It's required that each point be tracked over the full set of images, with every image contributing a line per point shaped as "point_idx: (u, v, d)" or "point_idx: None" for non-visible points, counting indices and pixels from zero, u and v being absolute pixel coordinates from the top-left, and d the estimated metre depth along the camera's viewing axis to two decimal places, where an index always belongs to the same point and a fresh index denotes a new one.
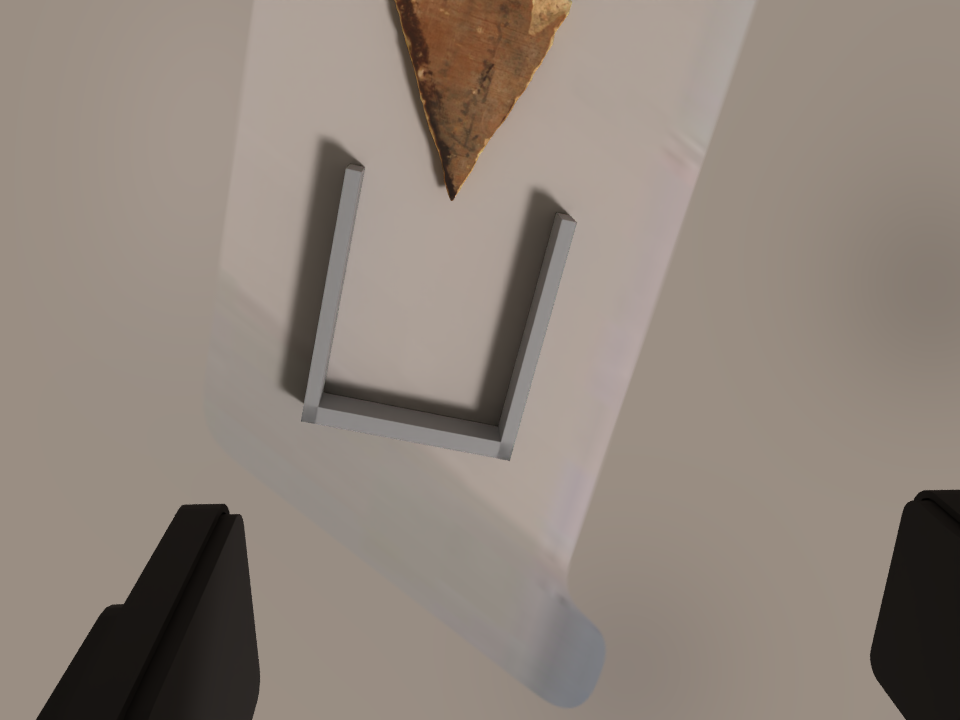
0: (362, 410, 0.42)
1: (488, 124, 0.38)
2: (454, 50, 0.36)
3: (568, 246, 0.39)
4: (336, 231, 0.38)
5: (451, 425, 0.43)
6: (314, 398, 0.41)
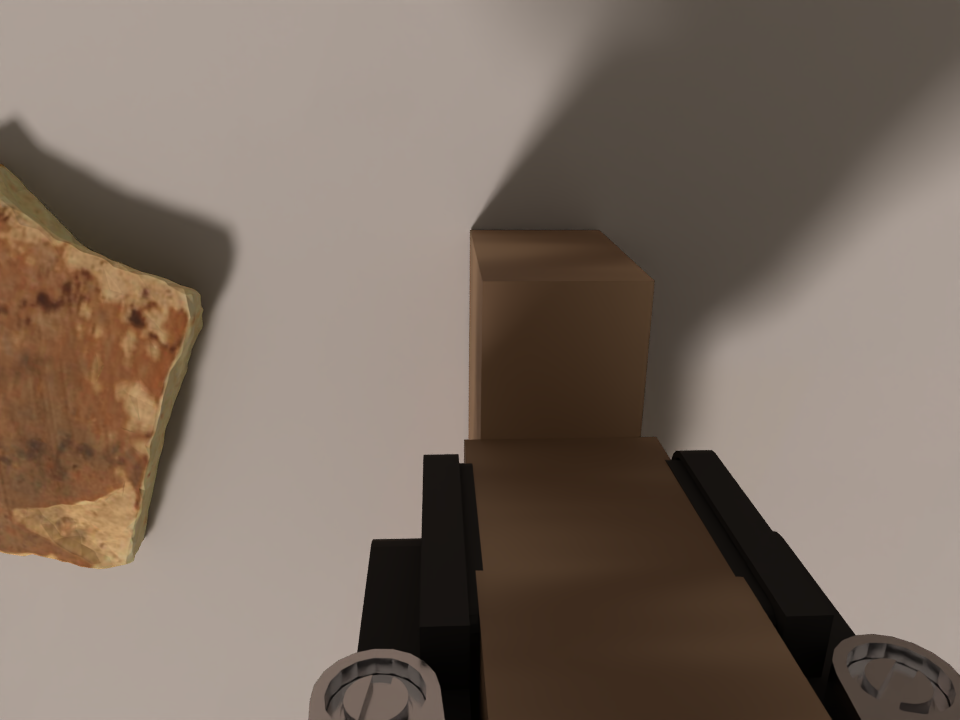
0: None
1: None
2: None
3: None
4: None
5: None
6: None
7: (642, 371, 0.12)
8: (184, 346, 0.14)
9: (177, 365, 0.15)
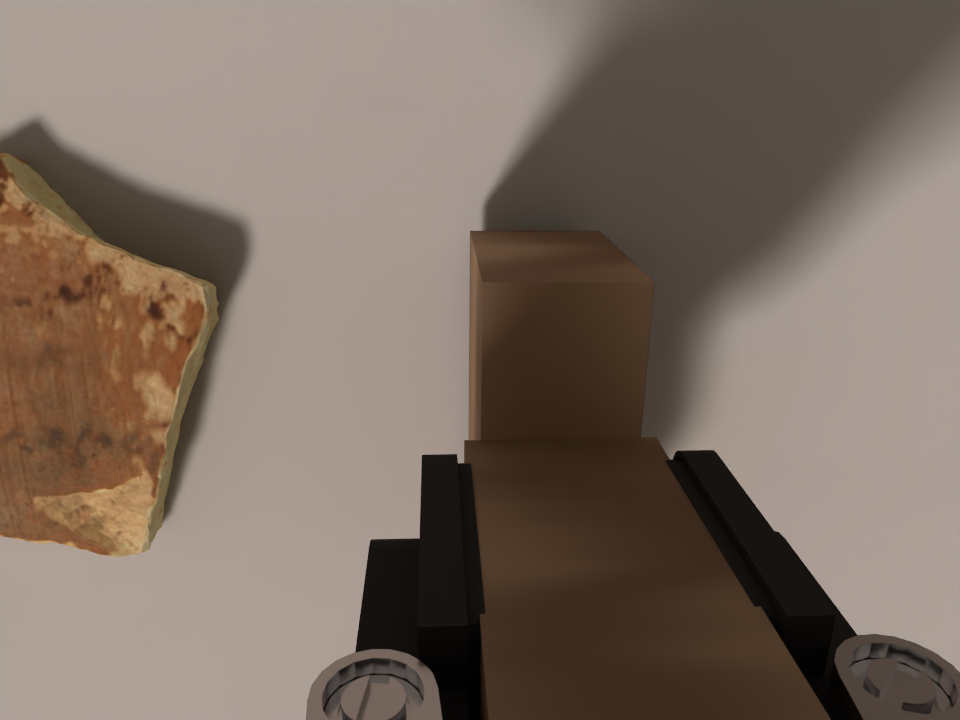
0: None
1: None
2: None
3: None
4: None
5: None
6: None
7: (642, 372, 0.12)
8: (200, 337, 0.15)
9: (193, 356, 0.15)
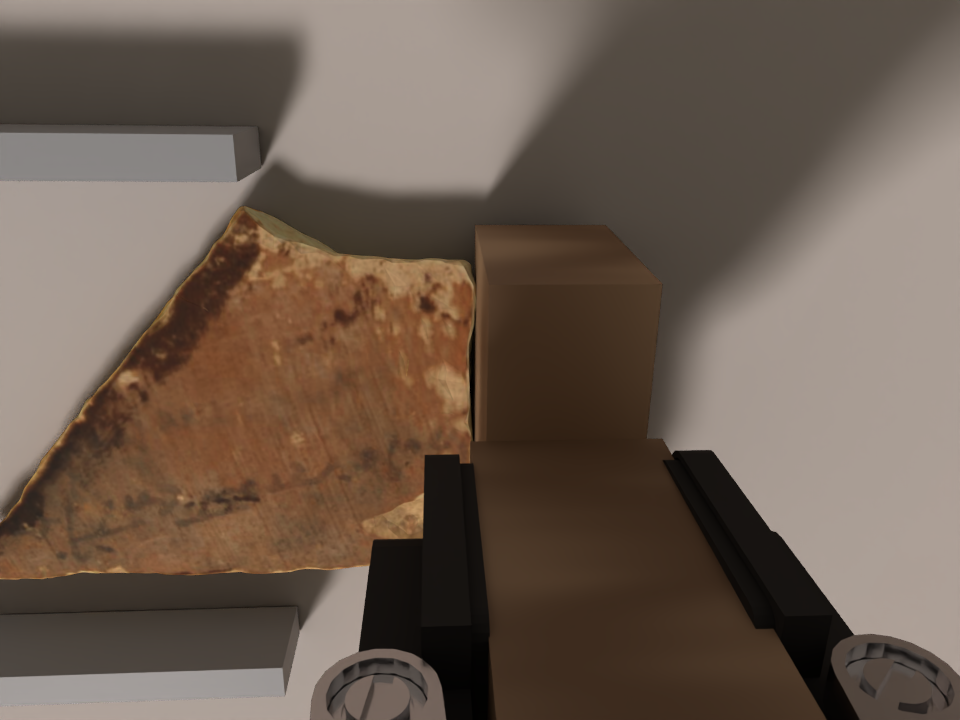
0: None
1: (149, 555, 0.16)
2: (223, 415, 0.15)
3: (225, 695, 0.16)
4: (36, 138, 0.12)
5: None
6: None
7: (649, 373, 0.12)
8: (474, 316, 0.15)
9: None
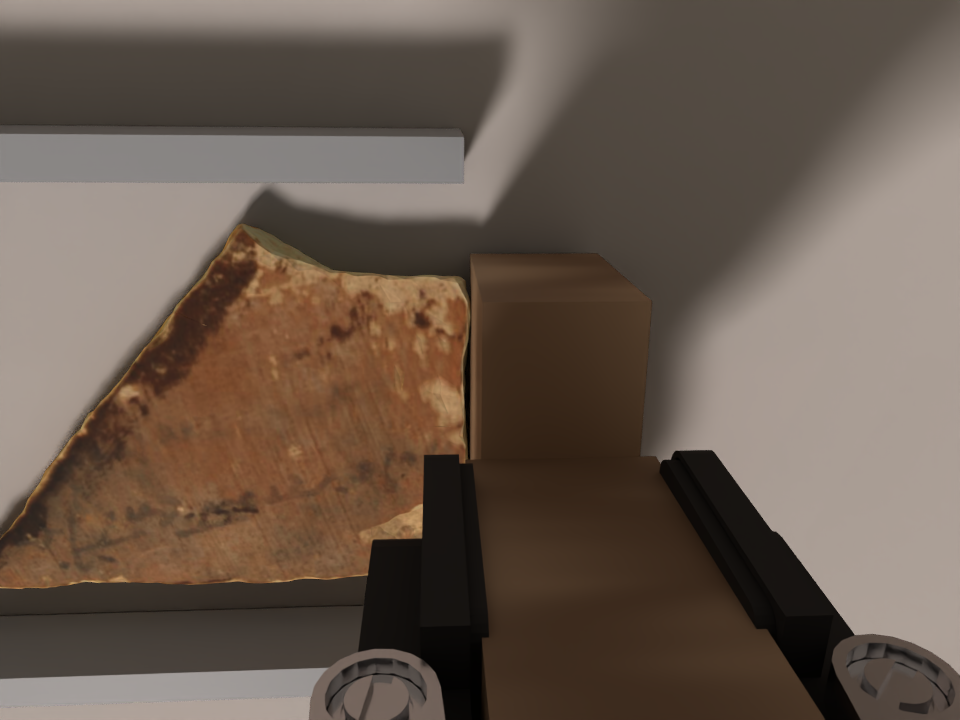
0: None
1: (150, 565, 0.16)
2: (222, 428, 0.15)
3: None
4: (274, 141, 0.13)
5: None
6: None
7: (641, 391, 0.12)
8: (468, 331, 0.15)
9: None
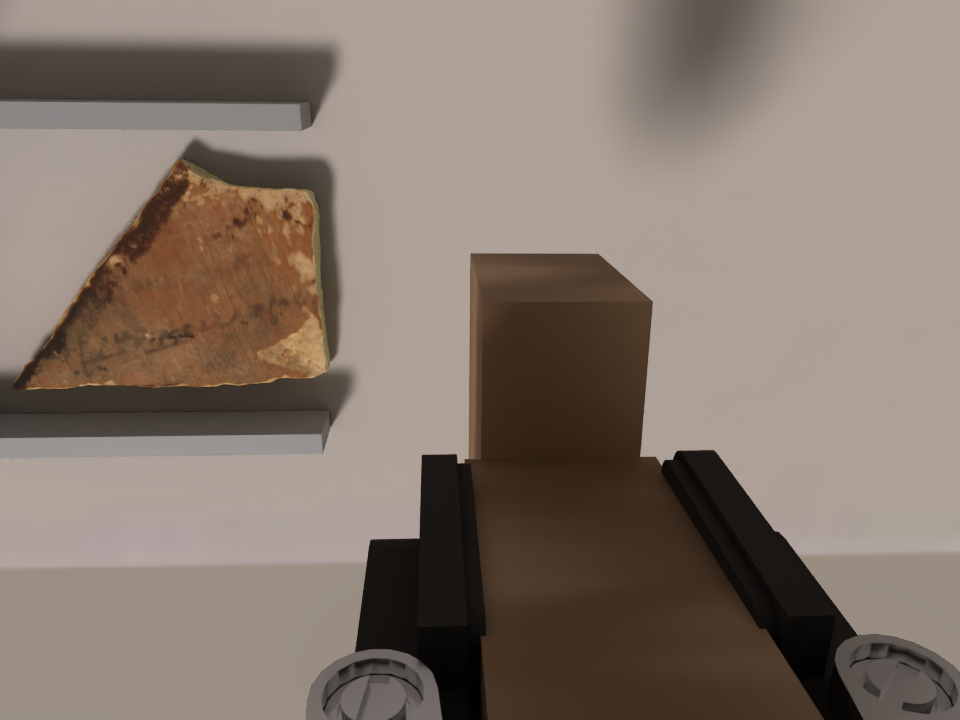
0: None
1: (129, 373, 0.27)
2: (170, 282, 0.25)
3: (286, 452, 0.27)
4: (193, 106, 0.23)
5: None
6: None
7: (641, 391, 0.12)
8: (315, 222, 0.25)
9: (315, 237, 0.26)
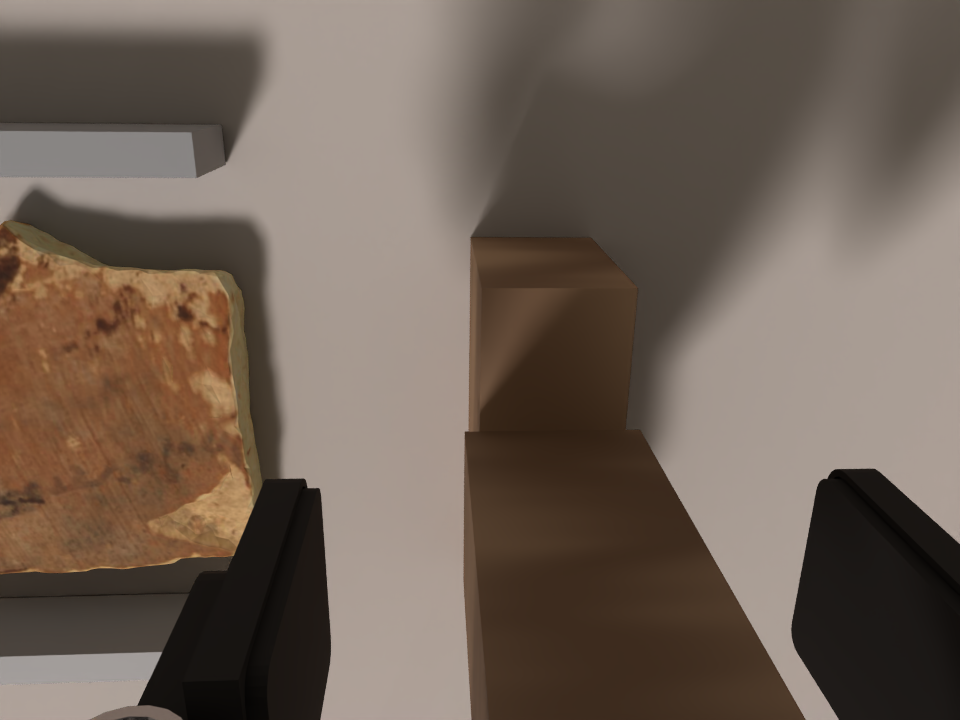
0: None
1: None
2: None
3: None
4: (3, 136, 0.13)
5: None
6: None
7: (627, 370, 0.13)
8: (233, 324, 0.15)
9: (235, 345, 0.16)
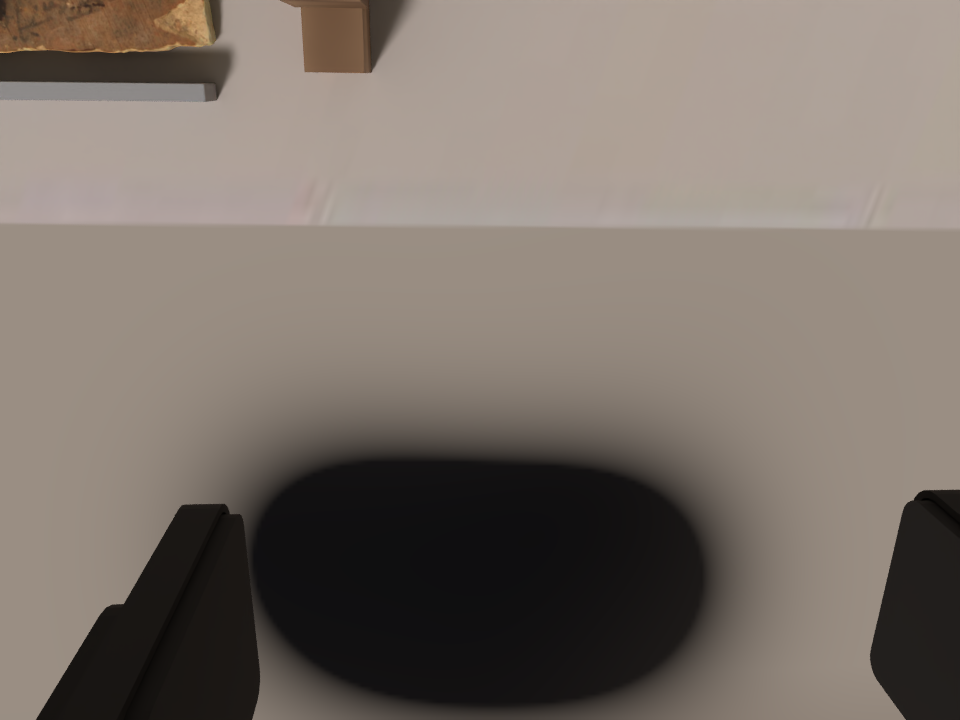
0: None
1: (56, 38, 0.35)
2: None
3: (176, 99, 0.35)
4: None
5: None
6: None
7: None
8: None
9: None
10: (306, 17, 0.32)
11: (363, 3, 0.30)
